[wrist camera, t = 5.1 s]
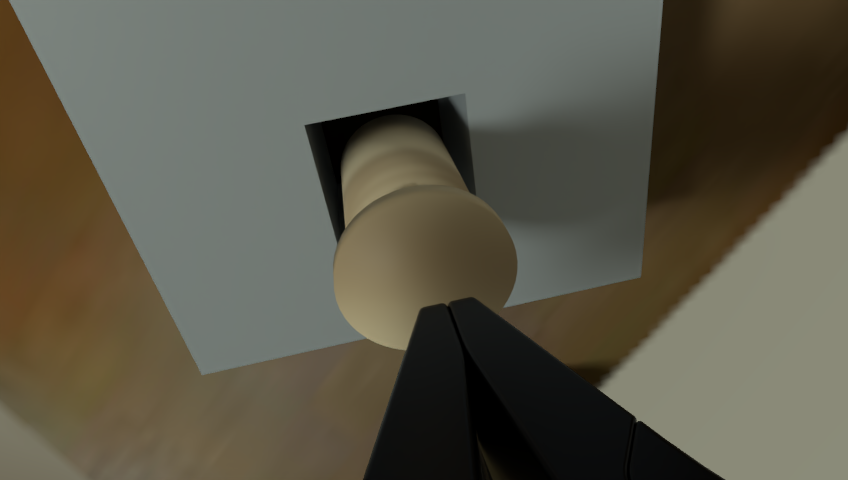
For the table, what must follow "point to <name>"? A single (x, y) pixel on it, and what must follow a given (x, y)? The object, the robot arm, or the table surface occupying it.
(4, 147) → the table surface
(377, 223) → the peg
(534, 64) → the board
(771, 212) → the table surface
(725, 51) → the table surface
